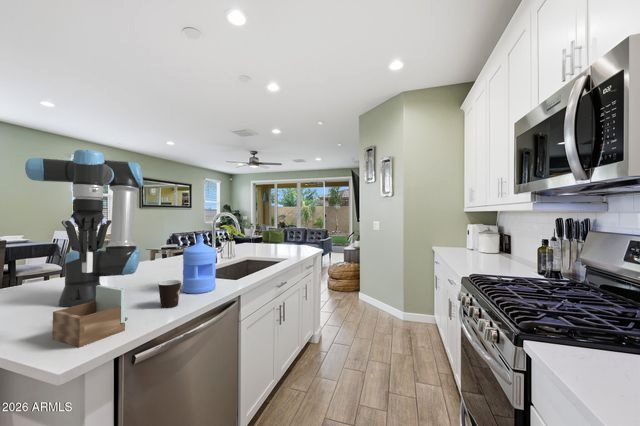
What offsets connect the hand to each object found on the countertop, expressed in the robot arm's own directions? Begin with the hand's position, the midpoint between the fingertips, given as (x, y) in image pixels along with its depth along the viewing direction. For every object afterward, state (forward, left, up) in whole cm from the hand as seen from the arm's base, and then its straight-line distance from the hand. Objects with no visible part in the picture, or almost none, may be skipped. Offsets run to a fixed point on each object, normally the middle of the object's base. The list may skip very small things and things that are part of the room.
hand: (87, 272), depth 88 cm
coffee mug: (-1, +33, -21) cm, 39 cm away
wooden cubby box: (0, +1, -21) cm, 21 cm away
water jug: (-8, +55, -21) cm, 59 cm away
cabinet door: (0, +8, -18) cm, 20 cm away
